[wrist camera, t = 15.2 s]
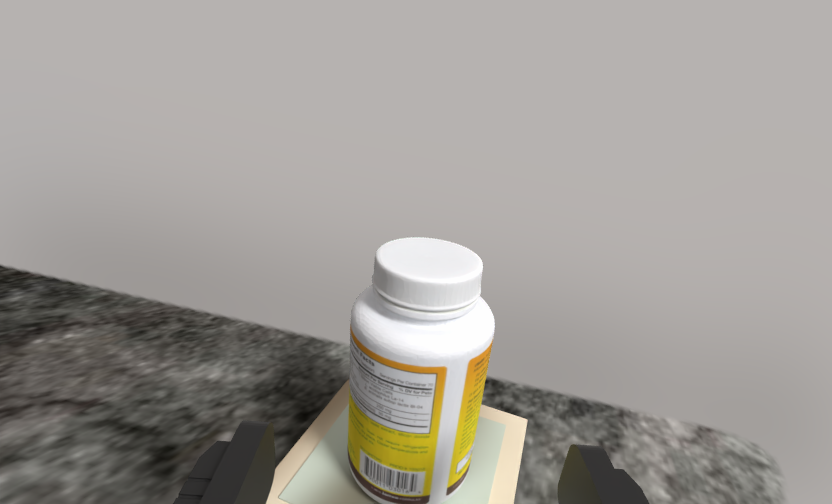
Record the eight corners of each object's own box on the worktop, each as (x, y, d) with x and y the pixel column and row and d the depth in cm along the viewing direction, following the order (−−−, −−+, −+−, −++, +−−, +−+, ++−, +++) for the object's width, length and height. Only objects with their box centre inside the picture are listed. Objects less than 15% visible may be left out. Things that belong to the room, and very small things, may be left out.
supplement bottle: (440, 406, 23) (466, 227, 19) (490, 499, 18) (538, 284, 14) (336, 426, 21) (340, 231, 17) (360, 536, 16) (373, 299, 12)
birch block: (244, 535, 17) (241, 509, 16) (358, 384, 26) (359, 363, 25) (484, 656, 14) (492, 629, 14) (522, 440, 23) (528, 418, 22)
